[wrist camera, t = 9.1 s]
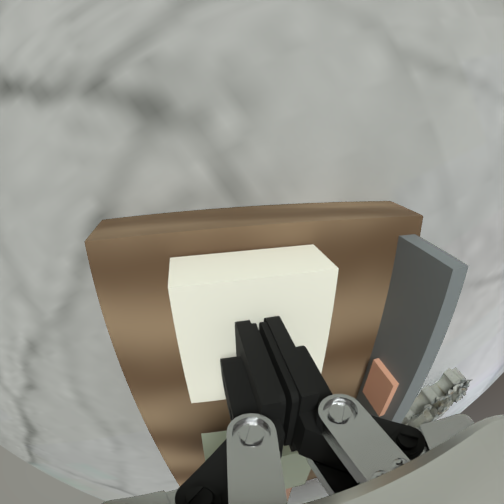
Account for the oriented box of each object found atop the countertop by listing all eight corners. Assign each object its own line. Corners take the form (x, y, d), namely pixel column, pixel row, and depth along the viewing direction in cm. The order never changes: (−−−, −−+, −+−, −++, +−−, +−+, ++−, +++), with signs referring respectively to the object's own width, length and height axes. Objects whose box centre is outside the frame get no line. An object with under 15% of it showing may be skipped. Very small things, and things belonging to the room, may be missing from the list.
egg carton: (387, 431, 30) (401, 453, 26) (387, 407, 27) (404, 433, 23) (450, 388, 31) (466, 407, 27) (458, 357, 27) (478, 378, 24)
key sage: (201, 433, 14) (206, 469, 12) (304, 415, 15) (318, 446, 13) (212, 473, 16) (218, 500, 14) (294, 458, 18) (304, 484, 15)
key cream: (169, 257, 12) (167, 287, 9) (313, 244, 13) (338, 268, 11) (188, 367, 14) (191, 403, 12) (302, 350, 15) (319, 381, 13)
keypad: (102, 219, 13) (47, 291, 7) (390, 201, 16) (478, 243, 10) (185, 477, 24) (193, 531, 18) (327, 451, 27) (349, 498, 21)
